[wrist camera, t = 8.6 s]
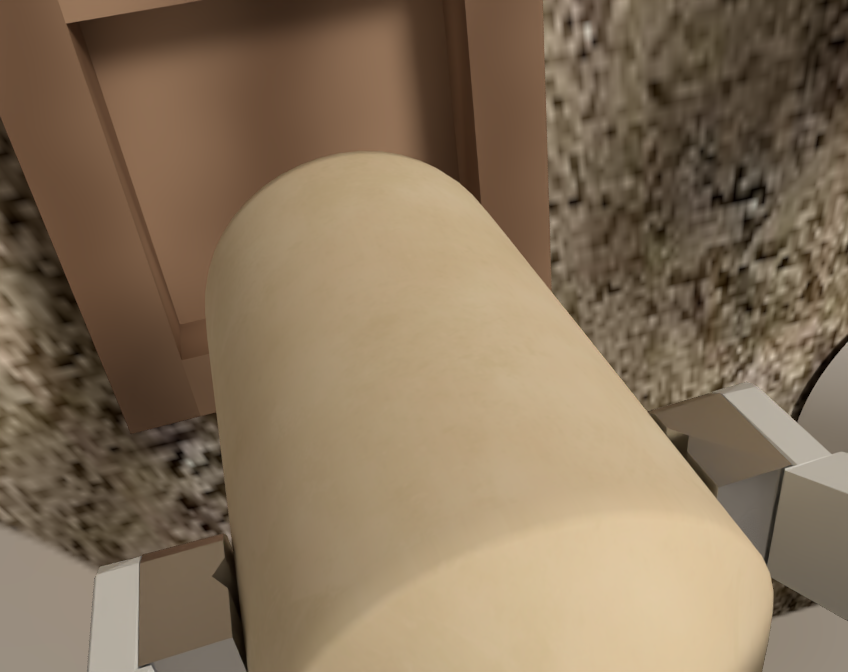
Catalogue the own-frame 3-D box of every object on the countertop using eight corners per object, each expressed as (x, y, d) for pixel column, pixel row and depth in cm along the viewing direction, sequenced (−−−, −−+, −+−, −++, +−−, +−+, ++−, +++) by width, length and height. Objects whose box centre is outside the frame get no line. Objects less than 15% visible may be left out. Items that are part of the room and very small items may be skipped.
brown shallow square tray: (490, -158, 21) (537, -156, 18) (515, 279, 28) (552, 326, 25) (-42, -79, 19) (-74, -64, 16) (133, 373, 26) (130, 433, 23)
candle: (461, 404, 17) (731, 930, 9) (194, 409, 16) (253, 1070, 8) (528, 160, 15) (991, 618, 7) (212, 129, 13) (334, 717, 5)
